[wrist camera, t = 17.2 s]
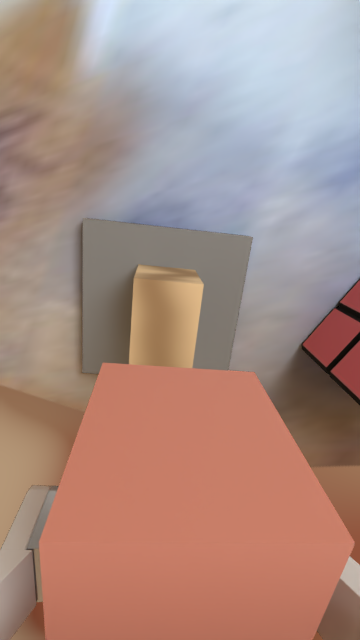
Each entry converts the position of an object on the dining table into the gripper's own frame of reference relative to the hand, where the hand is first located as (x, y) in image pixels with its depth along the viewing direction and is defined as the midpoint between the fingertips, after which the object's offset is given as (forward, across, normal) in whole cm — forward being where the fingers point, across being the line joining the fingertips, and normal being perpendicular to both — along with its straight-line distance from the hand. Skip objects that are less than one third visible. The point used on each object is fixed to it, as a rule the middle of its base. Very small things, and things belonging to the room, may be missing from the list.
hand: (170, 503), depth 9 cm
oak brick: (+18, 0, 0) cm, 18 cm away
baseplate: (+19, 0, 0) cm, 19 cm away
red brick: (+2, 0, 0) cm, 2 cm away
